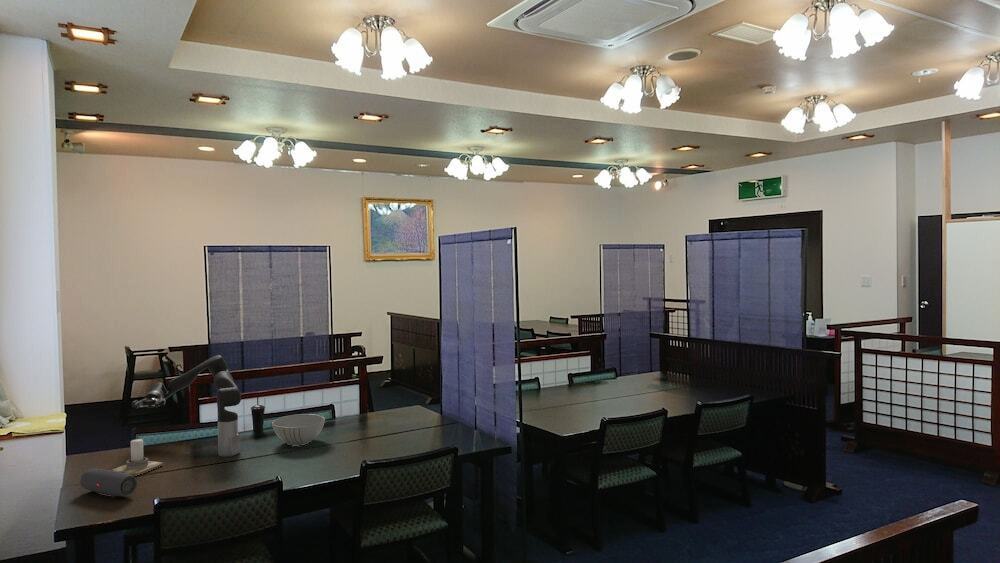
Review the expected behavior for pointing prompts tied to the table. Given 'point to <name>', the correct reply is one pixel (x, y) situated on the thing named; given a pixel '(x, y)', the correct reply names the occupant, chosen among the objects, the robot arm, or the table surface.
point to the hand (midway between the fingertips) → (145, 406)
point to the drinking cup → (258, 417)
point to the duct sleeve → (137, 450)
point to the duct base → (139, 471)
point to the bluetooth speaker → (108, 482)
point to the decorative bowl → (298, 428)
